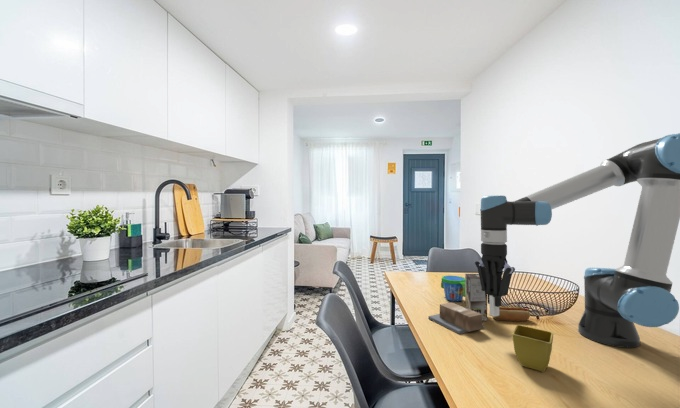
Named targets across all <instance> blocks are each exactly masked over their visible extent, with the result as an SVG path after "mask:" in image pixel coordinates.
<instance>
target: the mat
mask: <svg viewBox="0 0 680 408" xmlns="http://www.w3.org/2000/svg"><path fill="white" fill-rule="evenodd" d="M428 320H430V321H432V322H434V323H436V324H438V325H440V326H443V327H444V328H445V329H446V328H447V329H448V330H450V331H452V332H454V333H456V334H459V335H461V334H466V333H468V332H469V331H467V330H465V329H463V328H461V327H459V326H457V325H455V324H453V323H450V322H448V321H446V320H444V319H442V318H440V313H437V314H432V315H428ZM483 328H484V324H482V329H483Z"/></svg>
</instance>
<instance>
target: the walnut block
mask: <svg viewBox="0 0 680 408" xmlns="http://www.w3.org/2000/svg"><path fill="white" fill-rule="evenodd" d="M439 314H440V318H442V319H444V320H446V321H448V322H450V323H453V324H455V325H457V326H459V327H461V328H463V329H465V330H467V331H469V332H475V331H477V330H481V329H483V328H482V325H483V321H482V314H480V313H478V312H475V311H472V310H470V309H467V308H465V307H464V306H461V304H460V305H459V304H456V303H454V302H453V301H450V302H445V303H441V304H439Z"/></svg>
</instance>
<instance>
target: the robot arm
mask: <svg viewBox="0 0 680 408" xmlns="http://www.w3.org/2000/svg"><path fill="white" fill-rule="evenodd" d="M634 182H637V183H638V184H639V185H640V186H641V191H640V195H639V200H638V205H637V208H636V213H635V216H634V220H633V224H632V228H631V233H630V238H629V242H628V246H627V250H626V252H625V253H626V254H625V257H624V263H623V265H622V266H619V267H618V268H609V267H608V268H606V267H587V268H586V269H585V270H584V276H583V279H584V280H583V281H584V286H583V287H584V311H583V313H582V316H581V317H580V320H579V322H578V329H577V331H578V333H579V334H580V335H582V336H583V337H585V338H587V339H589V340H591V341H594V342H597V343H599V344H603V345H608V346H613V347H618V348H619V347H620V348H625V349H626V348H628V349H629V348H637V347H639V346H640V345H641V342H640V341H641V338H640V335H639V333H638V330H637V328H636V326H635V324H636V325H639V326H642V327H645V328H647V327H648V328H659V327H663V326H664V325H669V324H670V323H671V322H673V321H674V320H675V319H676V317H677V316H678V314H679V312H680V305H679V301H678V300H677V299H676V297H675V295H674V294H672V287H673V282H672V281H671V279H670V278H669V277H668V276H667V273H668V268H669V265H670V260H671V256H672V251H673V249H674V248H673V247H674V244H675V240H676V237H677V236H676V235H677V231H678V229H679V228H678V227H679V223H680V132H679V133H672V134H667V135H664V136H663V137H660V138H656V139H652V140H649V141H645V142H641V143H638V144H635V145H634V146H632V147H630V148H628V149H626V150H624V151H622V152H620V153H618V154H616V155H614V156H612V157H609V158H607V159H605V160H603V161H601V163H600V165H598V166H596V167H593V168H591V169H588V170H587V171H585V172H584V171H583V172H581V173H579V174H577V175H575V176H572V177H570V178H567V179H565V180H562V181H560V182H558V183H555V184H553V185H550V186H547V187H545V188H543V189H540V190H538V191H536V192H534V193H531V194H528V195H526V196H524V197H521V198H519V199H517V200H513V201H508V200H507V196H506V195H484V196H482V197H481V199H480V241H481V242H482V243H480V253H481V259H480V260H478V261H475V262H474V264H475V267H476V268H477V272H478V273H477V274H479V278H480V283H481V288H482V291H485V292H486V293H487V305H488V306H489V316H490V317H492V316H493V317H495V316H499V307H502V297H505V296H508V293H509V289H510V284H511V279H512V275H513V274H514V272H515V270H516V268H515V267H514V266H510V265H509V264H508V260H507V255H508V245H507V244H506V243H507V242H508V228H507V226H508V225H509V226H510V225H511V226H512V225H514V226H515V225H517V226H536V227H537V226H546V225H549V224H550V223H551V221H552V217H553V211H552V210H554V209H556V208H559V207H562V206H564V205H567V204H570V203H572V202H574V201H577V200H580V199H583V198H585V197H587V196H591V195H593V194H594V193H595V194H596V193H597V192H600V191H603V190H604V189H608V188H611V187H613V186H614V187H621V186H624V185H627V184H630V183H634ZM493 317H492V318H493Z"/></svg>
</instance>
